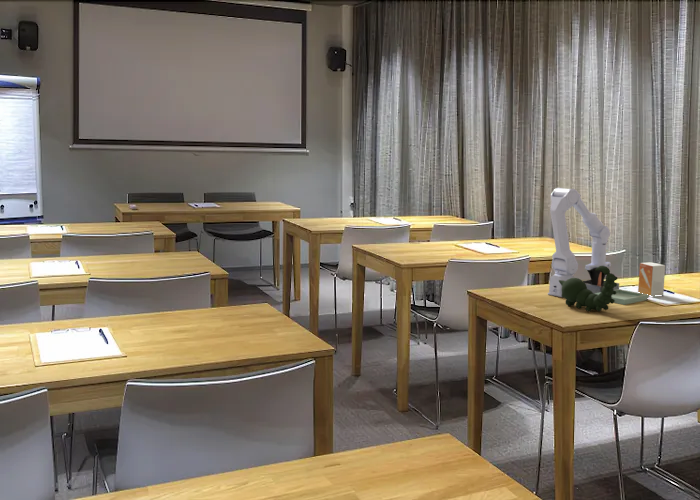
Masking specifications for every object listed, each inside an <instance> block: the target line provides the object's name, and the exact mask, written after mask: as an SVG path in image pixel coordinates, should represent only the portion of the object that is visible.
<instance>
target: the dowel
mask: <svg viewBox="0 0 700 500" xmlns="http://www.w3.org/2000/svg"><path fill="white" fill-rule="evenodd" d="M601 275H602V272H600V274H599V278H598V284H597V286H601Z"/></svg>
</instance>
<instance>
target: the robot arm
mask: <svg viewBox="0 0 700 500" xmlns="http://www.w3.org/2000/svg"><path fill="white" fill-rule="evenodd" d="M550 202H551V203H550V209H549V212H550V217H551V219H550V220H551V225H552V226H551V227H552V231H553V239H554V246H555V252H554V253H553V254H552V255H551V256H552V257H551V258H552V262H551V268H552V269H553V271H554V274H553V275H552V276H550V278H549V286H548V287H549V288H548V289H549V290H548V291H549V292H547V295H550V296H555V297H558V298H563V297H562V285H561V284H560V282H559V280H563V281H566V280H568V279H570V278H574V275H575V274H576V272H577V271H578V269H579V262H578V261H577V258H576V254H574V252H573V251H572V250H571V248H570V246H571V245H570V240H569V233H568V227H567V219H566V212H568V211H569V210H570V209H571V208H572V207H573V208H574V209H575V210H576V211H577V213H579V215H580V216H581V217H582V219H581V221H582V222H583V224H584V225H585V226H586V228H587V229H588V231H589V232H588V233H589V236H590V237H592V240H591V241H592V242H591V244H592V245H591V246H592V247H591V262H590V263H588V264H585V265H584V266H585V267H584V270H586V271H587V273H588V274H589V277H590V279H591V282H592V285H597V284H598V278H599V274H600V272H602V271H601V270H598V271H596V268H597V267H599V266H606V267H607V268H611V266H612V263H611V261H606V259H607V246H608V245H607V244H608V241H609V238H610V236H611V233H612V232H611V231H610V228H609V227H608V226H607V225H604V224H603V222H602V220H600V218H599V217H598V214H597V213H595V212H591V211H590V210H589V208H588V207H587V205H586V204H585V202H584V201H583V200H582V198H581V193H580V192H579V191H578V190H577V189H576V188H564V187H556V188H554V189H553V190H552V192H551V194H550ZM605 279H606V275H605V274H604V273H603V272H602V275H601V285H602V284H603V281H605Z"/></svg>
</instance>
